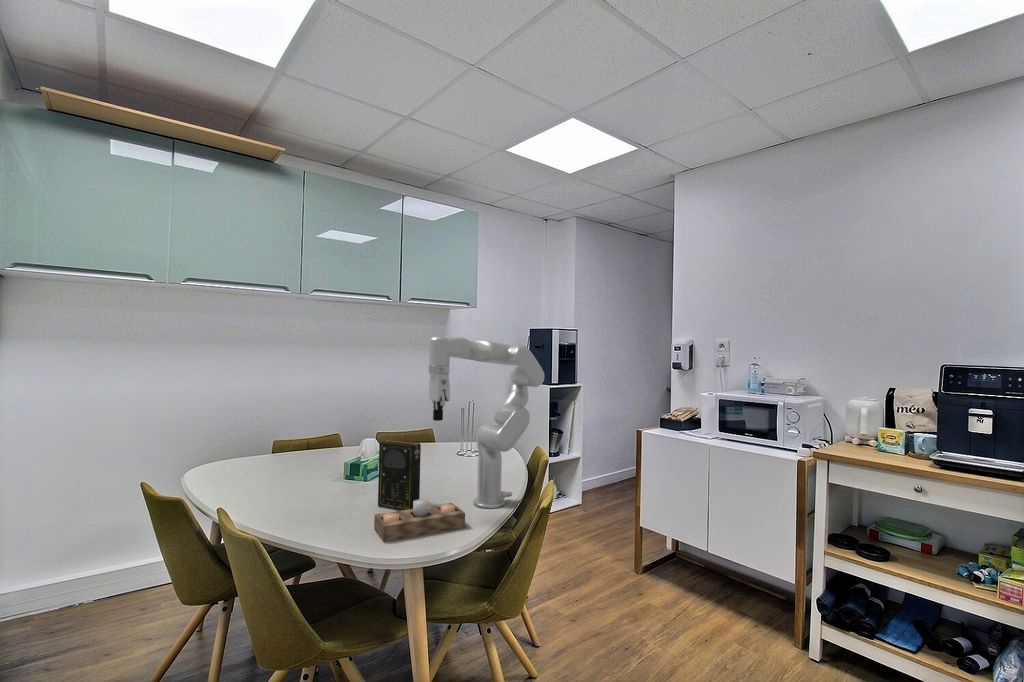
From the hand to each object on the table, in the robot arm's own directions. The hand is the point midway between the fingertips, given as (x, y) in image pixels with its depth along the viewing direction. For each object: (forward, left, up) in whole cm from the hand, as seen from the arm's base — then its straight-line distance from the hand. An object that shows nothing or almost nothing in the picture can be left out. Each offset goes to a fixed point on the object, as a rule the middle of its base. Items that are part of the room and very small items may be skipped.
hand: (437, 420), depth 175 cm
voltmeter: (+9, -16, -35) cm, 40 cm away
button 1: (+19, +9, -34) cm, 40 cm away
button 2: (-1, +9, -34) cm, 35 cm away
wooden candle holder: (+9, +9, -35) cm, 37 cm away
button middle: (+9, +9, -31) cm, 34 cm away
